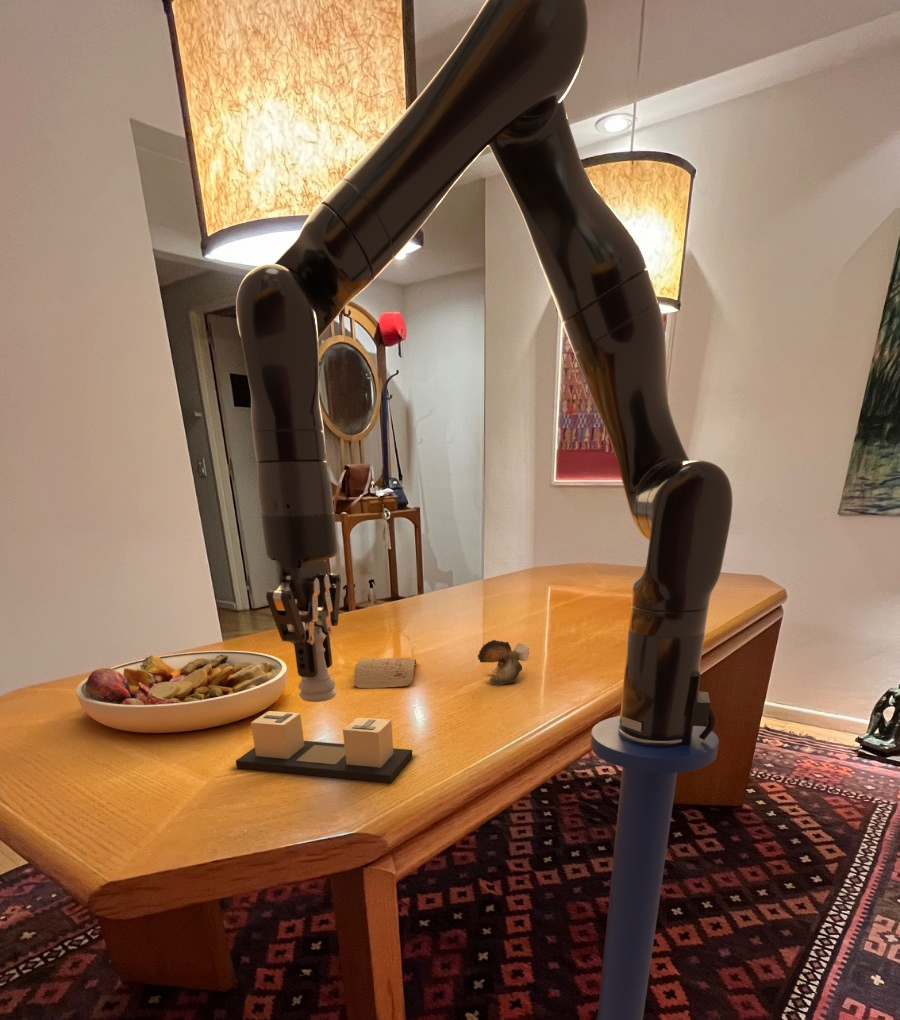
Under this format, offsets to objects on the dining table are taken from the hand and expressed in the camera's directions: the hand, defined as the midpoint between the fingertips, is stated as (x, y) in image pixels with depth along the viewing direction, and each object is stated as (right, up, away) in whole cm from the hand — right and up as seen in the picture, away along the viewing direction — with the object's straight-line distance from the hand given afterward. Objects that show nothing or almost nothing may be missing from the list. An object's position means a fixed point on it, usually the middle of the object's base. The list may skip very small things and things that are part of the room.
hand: (315, 670), depth 78 cm
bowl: (-24, -1, +26) cm, 36 cm away
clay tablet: (+5, +7, +39) cm, 40 cm away
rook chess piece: (0, -3, +2) cm, 3 cm away
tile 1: (-6, -9, +6) cm, 12 cm away
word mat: (0, -10, +5) cm, 12 cm away
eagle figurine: (+25, +6, +37) cm, 45 cm away
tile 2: (+6, -10, +3) cm, 12 cm away
